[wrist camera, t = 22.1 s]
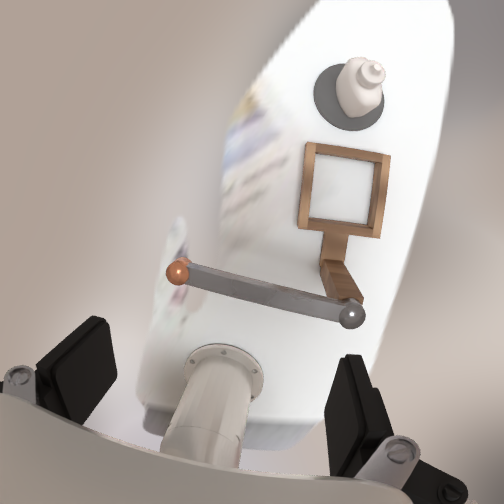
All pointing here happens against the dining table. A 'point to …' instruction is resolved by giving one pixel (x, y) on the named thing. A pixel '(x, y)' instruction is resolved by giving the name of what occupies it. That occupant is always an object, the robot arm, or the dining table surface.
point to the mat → (331, 107)
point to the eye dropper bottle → (360, 86)
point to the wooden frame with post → (337, 232)
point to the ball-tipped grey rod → (266, 293)
